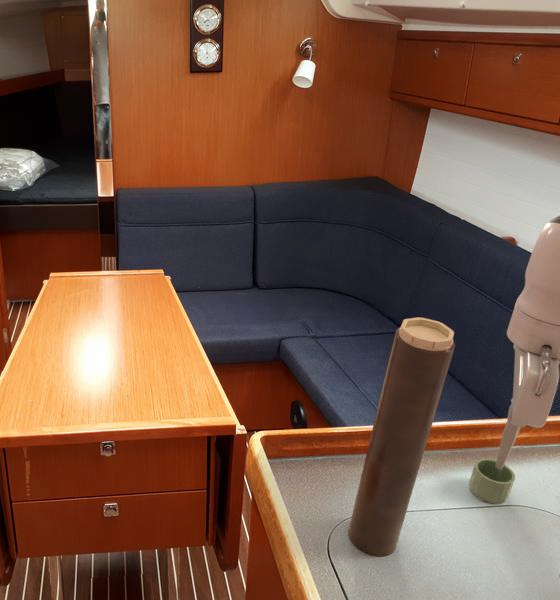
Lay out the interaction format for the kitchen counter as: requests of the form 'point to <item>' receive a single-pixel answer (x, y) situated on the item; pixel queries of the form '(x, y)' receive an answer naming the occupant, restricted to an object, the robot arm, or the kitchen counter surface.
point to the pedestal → (397, 445)
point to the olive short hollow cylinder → (491, 481)
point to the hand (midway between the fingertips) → (517, 416)
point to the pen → (507, 440)
